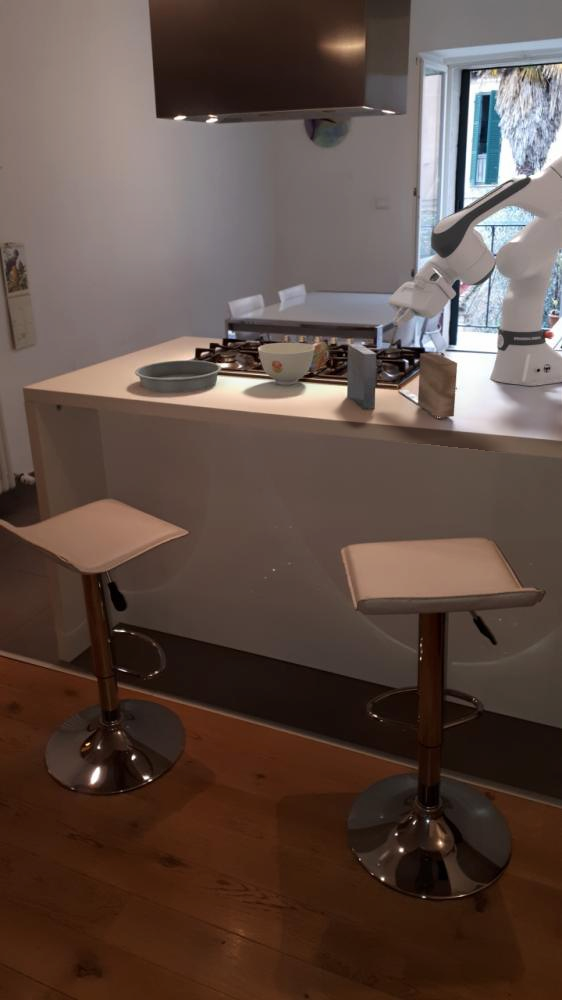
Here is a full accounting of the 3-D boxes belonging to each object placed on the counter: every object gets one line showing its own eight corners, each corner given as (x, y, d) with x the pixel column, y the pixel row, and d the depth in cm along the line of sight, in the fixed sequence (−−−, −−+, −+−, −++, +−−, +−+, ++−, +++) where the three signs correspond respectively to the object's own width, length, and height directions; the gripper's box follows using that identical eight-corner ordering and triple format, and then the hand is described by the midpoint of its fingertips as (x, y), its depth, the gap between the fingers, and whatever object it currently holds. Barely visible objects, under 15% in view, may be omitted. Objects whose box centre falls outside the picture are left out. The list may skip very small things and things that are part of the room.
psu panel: (406, 391, 220) (409, 339, 214) (446, 417, 195) (450, 359, 190) (346, 395, 216) (346, 343, 211) (378, 422, 192) (380, 364, 187)
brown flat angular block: (432, 402, 205) (435, 352, 200) (453, 416, 193) (457, 363, 188) (417, 404, 204) (420, 353, 199) (438, 417, 192) (441, 364, 187)
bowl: (326, 381, 232) (326, 346, 228) (288, 392, 221) (288, 355, 217) (285, 373, 242) (284, 340, 238) (247, 383, 231) (246, 348, 227)
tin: (311, 377, 238) (311, 348, 234) (301, 376, 239) (301, 347, 236) (330, 366, 250) (331, 339, 247) (321, 366, 251) (321, 339, 248)
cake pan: (171, 371, 248) (170, 357, 247) (238, 379, 237) (237, 364, 235) (118, 388, 229) (116, 372, 227) (187, 398, 217) (186, 381, 215)
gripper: (404, 271, 213) (370, 311, 213) (445, 277, 195) (407, 321, 195) (418, 287, 216) (385, 327, 216) (460, 295, 198) (423, 338, 198)
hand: (396, 324), depth 205 cm, fingers closed
